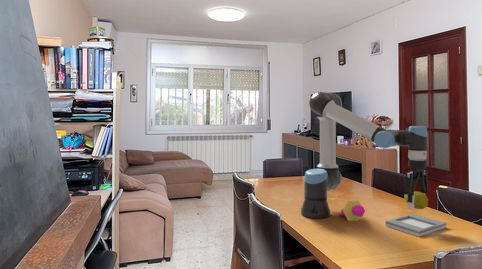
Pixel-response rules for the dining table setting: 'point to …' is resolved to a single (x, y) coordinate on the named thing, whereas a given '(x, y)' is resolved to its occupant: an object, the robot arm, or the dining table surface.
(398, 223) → the baseplate
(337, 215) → the dining table surface
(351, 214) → the toy
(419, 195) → the lemon
